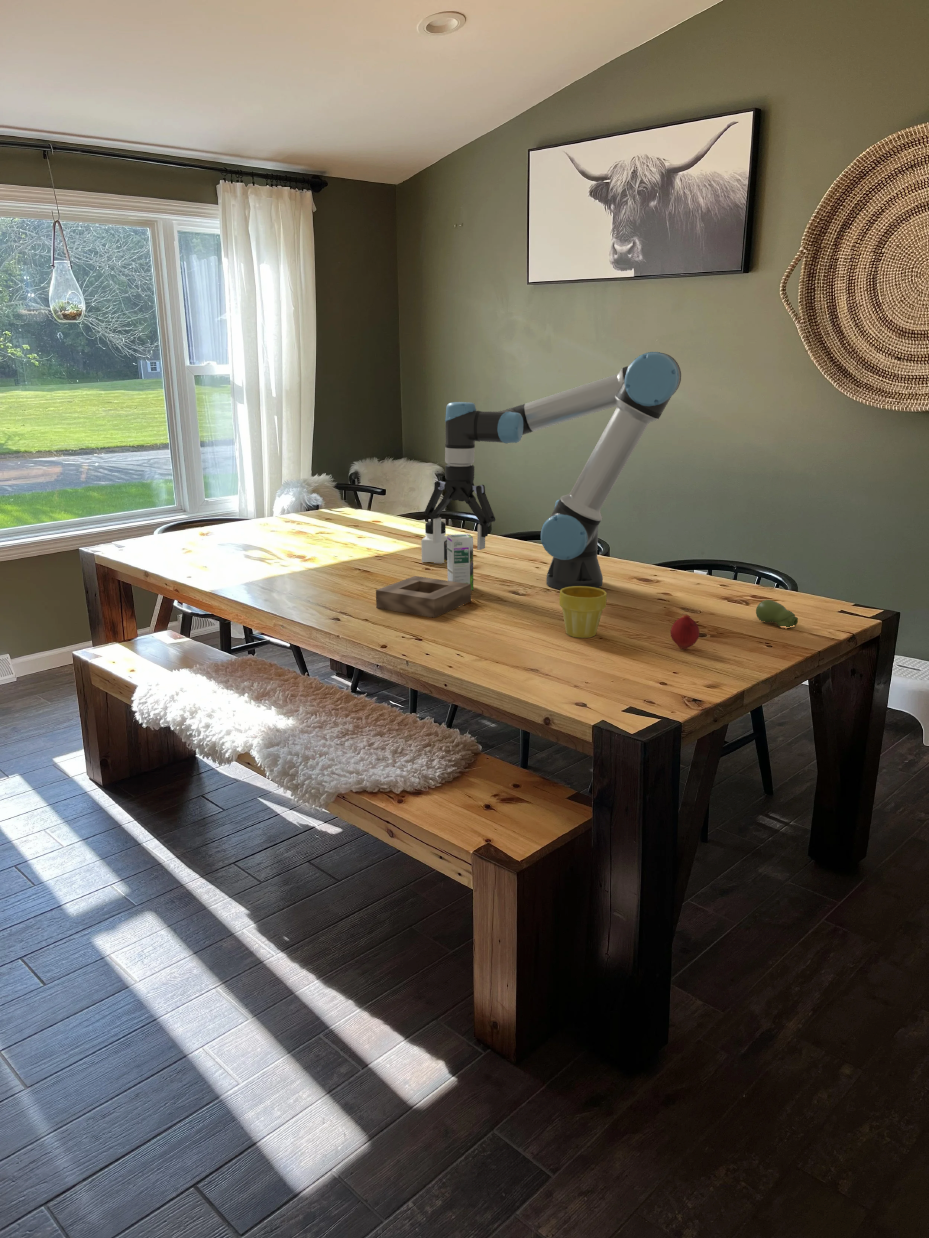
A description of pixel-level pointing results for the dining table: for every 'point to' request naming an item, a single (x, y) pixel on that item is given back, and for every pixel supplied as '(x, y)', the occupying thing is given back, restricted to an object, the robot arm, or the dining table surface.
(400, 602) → the socket block
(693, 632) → the onion
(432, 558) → the medicine bottle
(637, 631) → the dining table surface
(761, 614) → the pear
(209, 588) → the dining table surface
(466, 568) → the syrup box
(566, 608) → the plant pot
